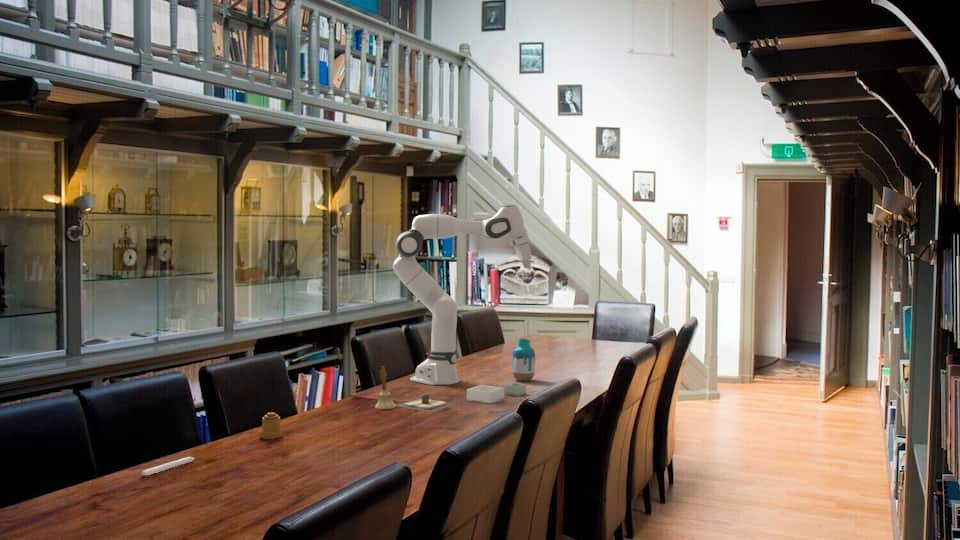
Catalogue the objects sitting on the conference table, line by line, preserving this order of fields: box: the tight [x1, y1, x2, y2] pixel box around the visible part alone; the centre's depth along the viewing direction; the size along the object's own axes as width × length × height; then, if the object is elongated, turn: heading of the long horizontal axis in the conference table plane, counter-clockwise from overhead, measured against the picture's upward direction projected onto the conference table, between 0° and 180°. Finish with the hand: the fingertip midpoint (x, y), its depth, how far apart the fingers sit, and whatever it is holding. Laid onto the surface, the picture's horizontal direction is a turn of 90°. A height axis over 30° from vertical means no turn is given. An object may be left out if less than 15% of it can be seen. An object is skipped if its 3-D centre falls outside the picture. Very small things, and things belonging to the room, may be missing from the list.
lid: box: [403, 393, 448, 410], centre depth 316 cm, size 12×12×4 cm
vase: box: [511, 338, 536, 382], centre depth 370 cm, size 11×11×19 cm
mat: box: [396, 398, 456, 413], centre depth 316 cm, size 18×16×1 cm
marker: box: [140, 456, 195, 475], centre depth 232 cm, size 18×2×2 cm, turn 151°
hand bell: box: [374, 365, 397, 410], centre depth 312 cm, size 8×8×16 cm
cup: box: [505, 382, 527, 397], centre depth 340 cm, size 6×6×4 cm
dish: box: [466, 384, 505, 405], centre depth 327 cm, size 11×11×5 cm
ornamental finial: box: [259, 411, 284, 440], centre depth 268 cm, size 8×8×8 cm
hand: (528, 268), depth 366 cm, fingers open, 8 cm apart
